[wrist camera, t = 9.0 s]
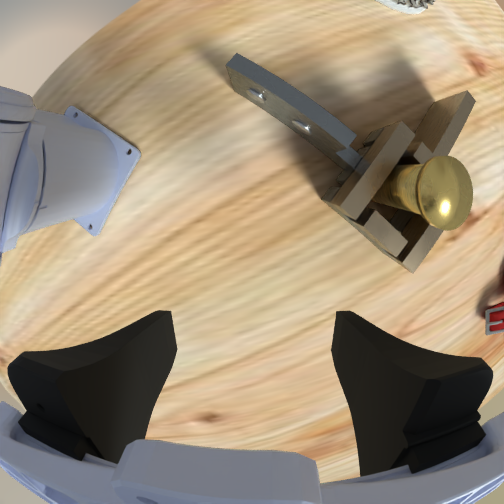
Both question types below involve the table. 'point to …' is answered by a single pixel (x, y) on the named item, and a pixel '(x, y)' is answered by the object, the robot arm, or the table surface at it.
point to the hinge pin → (430, 191)
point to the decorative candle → (407, 5)
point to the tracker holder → (495, 319)
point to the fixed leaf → (307, 126)
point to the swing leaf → (407, 153)
